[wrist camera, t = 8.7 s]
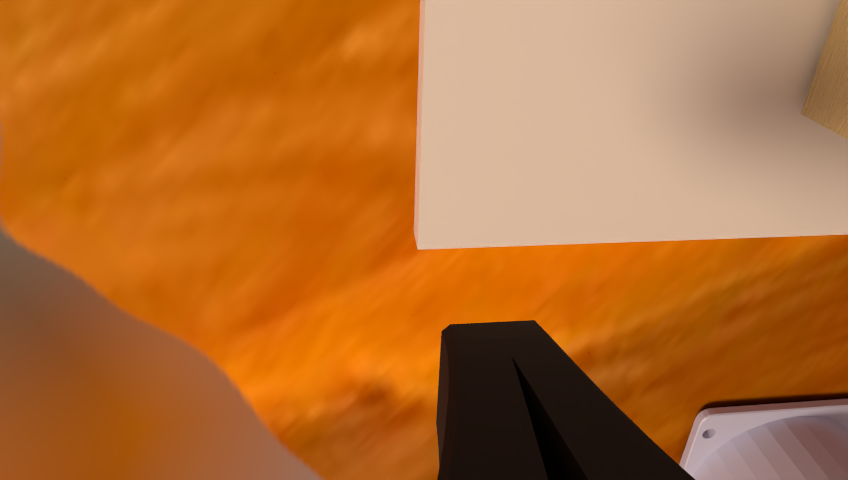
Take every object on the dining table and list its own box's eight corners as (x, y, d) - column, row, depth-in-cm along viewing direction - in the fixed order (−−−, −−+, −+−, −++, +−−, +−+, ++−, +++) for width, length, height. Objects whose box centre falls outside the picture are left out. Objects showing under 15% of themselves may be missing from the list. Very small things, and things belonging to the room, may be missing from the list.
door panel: (901, 216, 21) (925, 231, 20) (413, 231, 19) (417, 249, 18) (1119, -244, 15) (1168, -250, 14) (428, -289, 13) (434, -300, 12)
